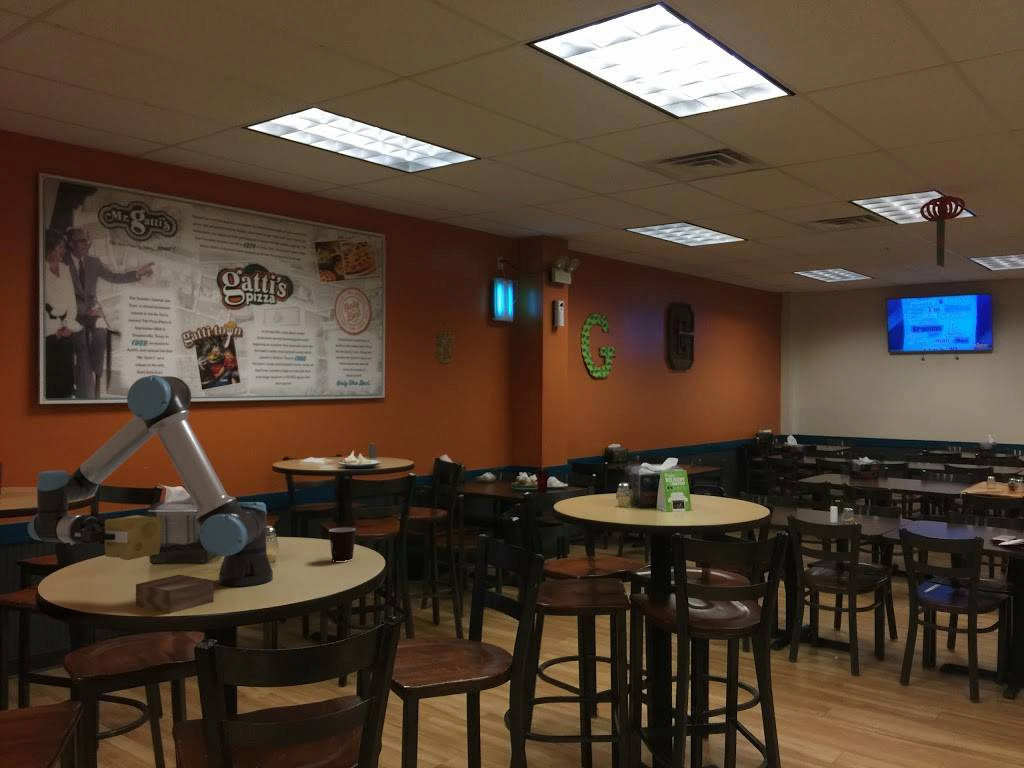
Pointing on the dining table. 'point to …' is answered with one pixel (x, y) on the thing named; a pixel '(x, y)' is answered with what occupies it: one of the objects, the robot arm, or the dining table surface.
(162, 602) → the walnut block
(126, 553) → the cheese
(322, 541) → the dining table surface
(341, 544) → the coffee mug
